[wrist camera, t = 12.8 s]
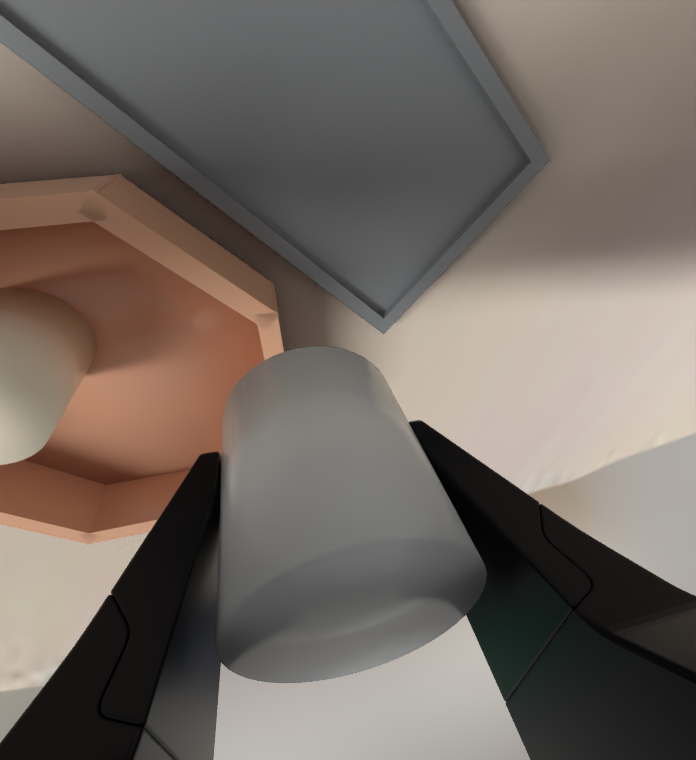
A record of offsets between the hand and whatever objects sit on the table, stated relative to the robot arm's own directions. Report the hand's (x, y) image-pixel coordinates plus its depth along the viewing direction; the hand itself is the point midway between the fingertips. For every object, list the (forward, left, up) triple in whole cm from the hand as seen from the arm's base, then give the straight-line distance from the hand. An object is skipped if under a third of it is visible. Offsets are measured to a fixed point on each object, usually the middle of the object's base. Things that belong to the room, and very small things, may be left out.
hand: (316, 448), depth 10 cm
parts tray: (-4, +6, -10) cm, 13 cm away
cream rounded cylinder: (-7, -8, -10) cm, 14 cm away
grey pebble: (0, 0, -1) cm, 1 cm away
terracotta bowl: (-4, -8, -10) cm, 14 cm away
